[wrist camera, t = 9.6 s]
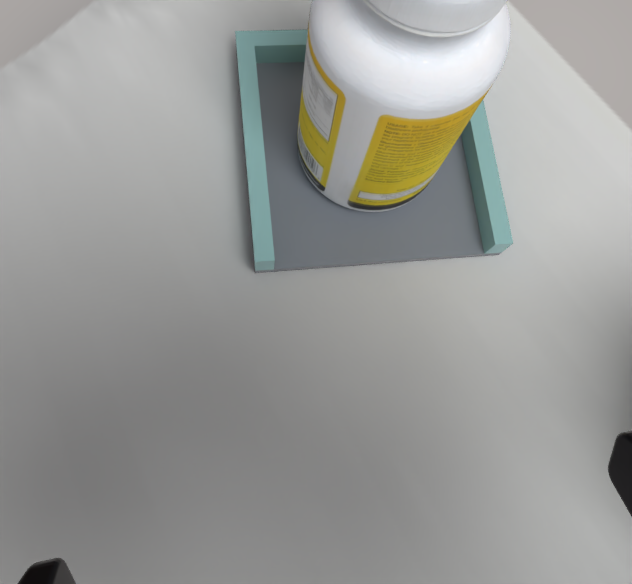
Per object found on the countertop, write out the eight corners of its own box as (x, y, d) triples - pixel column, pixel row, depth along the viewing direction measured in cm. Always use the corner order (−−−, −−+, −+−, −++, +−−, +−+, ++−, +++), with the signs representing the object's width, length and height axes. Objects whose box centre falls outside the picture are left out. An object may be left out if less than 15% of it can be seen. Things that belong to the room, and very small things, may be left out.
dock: (498, 254, 25) (513, 243, 24) (255, 272, 24) (254, 261, 22) (456, 48, 28) (467, 26, 26) (236, 53, 26) (235, 31, 25)
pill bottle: (462, 163, 26) (616, -49, 15) (360, 246, 24) (445, 78, 13) (369, 67, 27) (448, -203, 16) (265, 140, 25) (269, -101, 14)
